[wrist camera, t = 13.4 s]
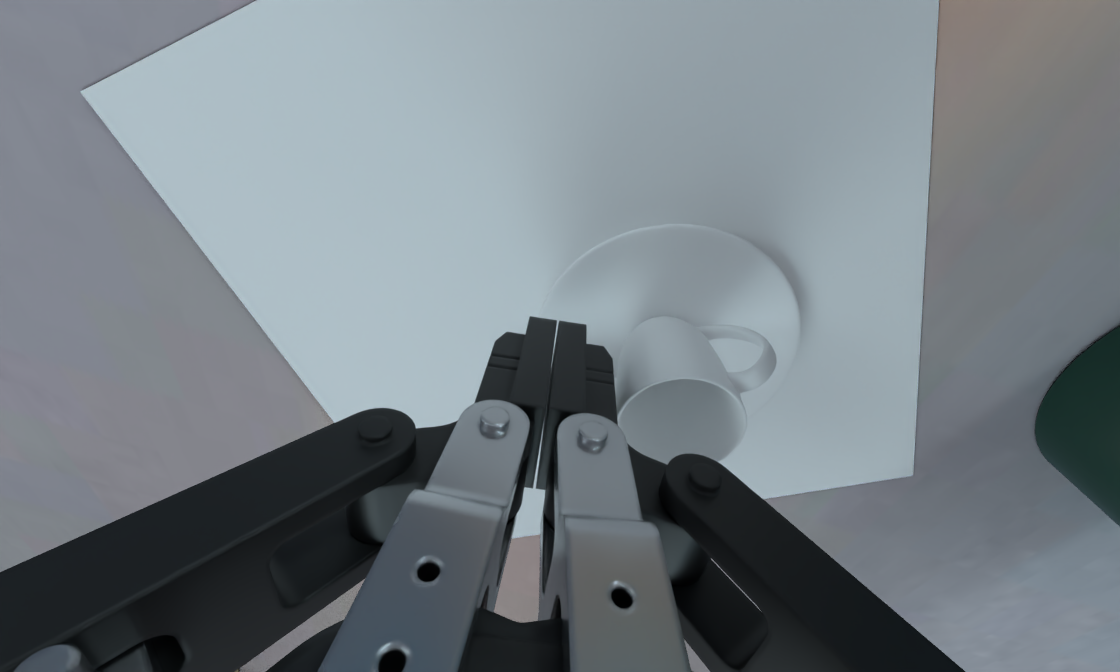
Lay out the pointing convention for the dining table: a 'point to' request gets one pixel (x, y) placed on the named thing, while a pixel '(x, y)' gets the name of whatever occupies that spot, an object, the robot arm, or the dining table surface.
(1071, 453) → the tea tin
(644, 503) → the robot arm
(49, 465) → the dining table surface
